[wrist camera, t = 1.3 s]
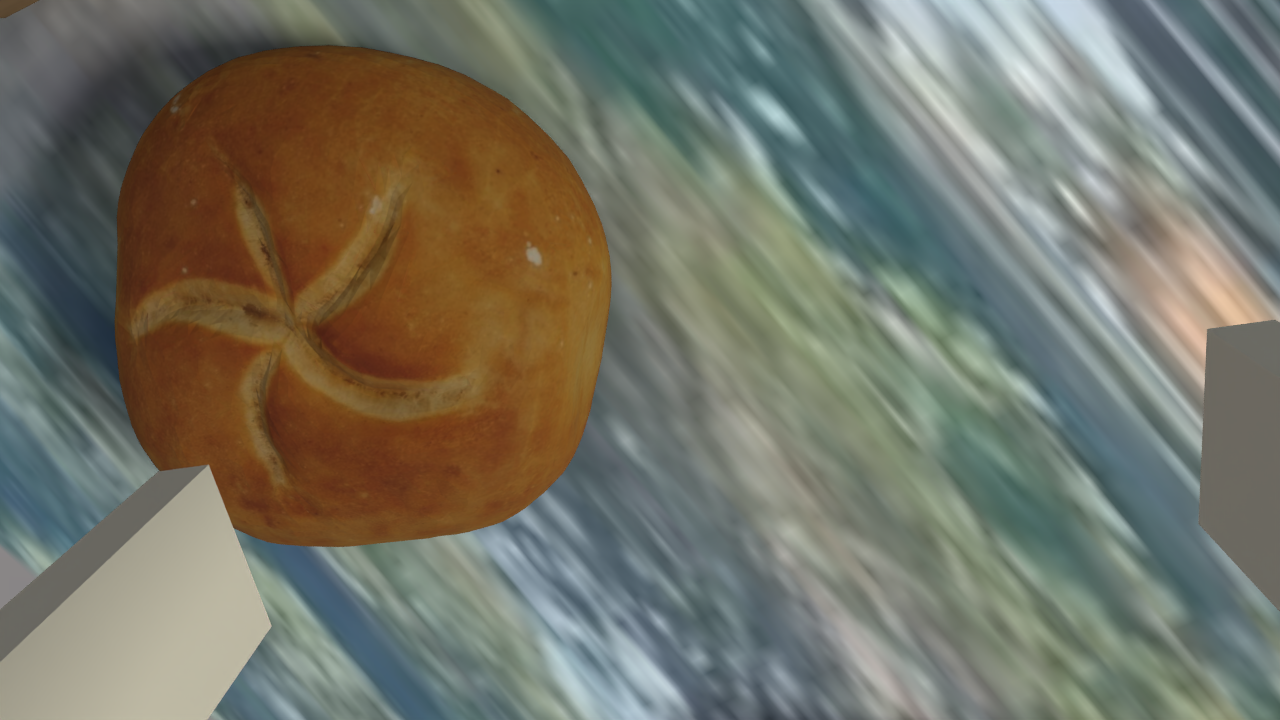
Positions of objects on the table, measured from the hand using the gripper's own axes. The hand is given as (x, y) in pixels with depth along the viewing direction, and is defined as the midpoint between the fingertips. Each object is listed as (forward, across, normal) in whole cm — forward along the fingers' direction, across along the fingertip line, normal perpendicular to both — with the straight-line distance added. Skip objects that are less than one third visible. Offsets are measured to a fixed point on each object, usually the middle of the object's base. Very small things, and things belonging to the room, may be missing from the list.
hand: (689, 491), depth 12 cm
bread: (+31, -16, -4) cm, 35 cm away
